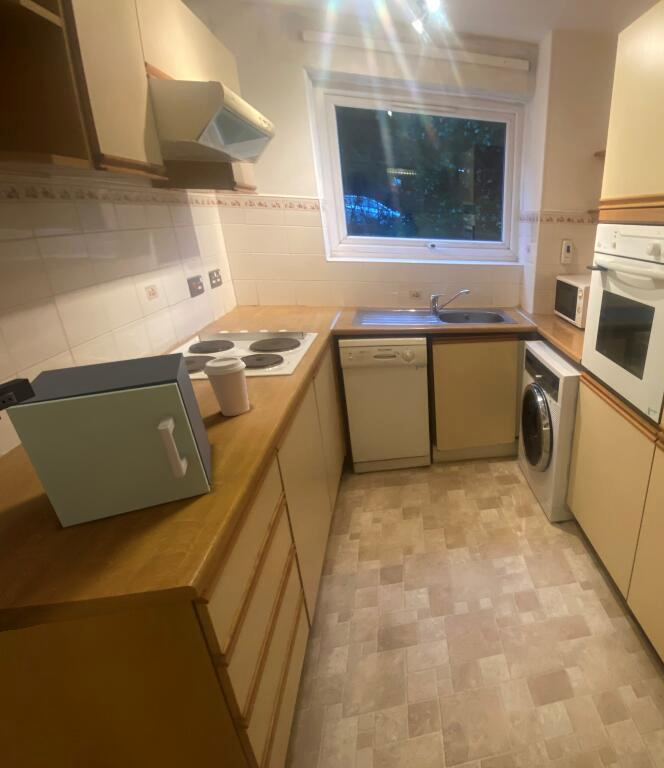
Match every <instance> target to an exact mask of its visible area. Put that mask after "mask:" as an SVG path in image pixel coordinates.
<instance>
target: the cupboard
mask: <svg viewBox="0 0 664 768" xmlns="http://www.w3.org/2000/svg"><path fill="white" fill-rule="evenodd" d="M187 366H188V365H187V363H186V360H185V357H184V353H183V352H175V353H168V354H160V355H159V354H158V355H153V356H144V357H137V358H131V359H130V358H129V359H123V360H115V361H107V362H101V363H93V364H85V365H79V366H78V365H77V366H70V367H65V368H55V369H49V370H48V369H47V370H42V371H41V372H40V373H39V374H38V375H36V377H34V379H32V381H31V382H30V384H31V386H32V389H33V391H34V393H35V395H36V396H35V397H32V398H30V399H28V400H25V401H23V402H21V403H18V404H16V405H14V406H18V405H25V404H32V403H39V402H46V401H52V400H59V399H66V398H73V397H80V396H87V395H94V394H101V393H108V392H115V391H122V390H129V389H136V388H143V387H150V386H157V385H164V384H171V383H177V386H178V389H179V392H180V395H181V398H182V402H183V405H184V408H185V411H186V414H187V418H188V421H189V424H190V427H191V430H192V434H193V437H194V440H195V443H196V446H197V449H198V453H199V456H200V459H201V462H202V465H203V469H204V472H205V475H206V478H207V481H208V485H209V486H210V485H211V444H210V440H209V437H208V433H207V431H206V430H207V429H206V427H205V424H204V420H203V417H202V416H203V415H202V413H201V410H200V406H199V403H198V400H197V397H196V393H195V390H194V387H193V384H192V380H191V376H190V374H189V370H188V367H187Z"/></svg>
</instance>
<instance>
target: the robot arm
mask: <svg viewBox="0 0 664 768" xmlns="http://www.w3.org/2000/svg"><path fill="white" fill-rule="evenodd" d="M30 383H31V382H30V380H29V378H28V377H27V378H26V377H25V378H22V377H18V378H17V377H16V378H14V379H12V380H11V379H10V380H9V381H6V382H4V383H3V382H2V383H0V412H1V411H4V410H5V409H6V408H9V407H11V406H14V405H16V404H18V403H21V402H23V401H25V400H28V399H30V398H32V397H35V396H36V395H35V393H34V391H33V389H32V386H31V384H30ZM0 420H2V417H1V416H0Z"/></svg>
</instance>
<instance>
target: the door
mask: <svg viewBox="0 0 664 768" xmlns="http://www.w3.org/2000/svg"><path fill="white" fill-rule="evenodd" d="M4 410H5V412H6V414H7V416H8V418H9V420H10V422H11V424H12V426H13V429H14V430H15V432H16V435H17V437H18V439H19V440H20V442H21V444H22V447H23V448H24V451H25V452H26V455H27V457H28V459H29V461H30V463H31V465H32V467H33V469H34V471H35V474H36V475H37V478H38V479H39V481H40V483H41V485H42V487H43V490H44V491H45V493H46V494H45V495H46V496H47V498H48V499H49V502H50V504H51V506H52V508H53V510H54V511H55V514H56V516H57V518H58V520H59V522H60V524H61V526H62V528H67V527H71V526H75V525H79V524H84V523H88V522H91V521H92V522H93V521H95V520H100V519H104V518H108V517H114V516H116V515H120V514H124V513H129V512H133V511H137V510H141V509H146V508H151V507H154V506H158V505H162V504H166V503H170V502H174V501H178V500H183V499H187V498H191V497H195V496H200V495H204V494H207V493H210V492H211V489H210V485H208V481H207V478H206V475H205V472H204V469H203V465H202V462H201V459H200V456H199V453H198V449H197V446H196V443H195V440H194V437H193V434H192V430H191V427H190V424H189V421H188V418H187V414H186V411H185V408H184V405H183V402H182V398H181V395H180V392H179V389H178V386H177V383H171V384H164V385H157V386H150V387H143V388H136V389H129V390H122V391H115V392H108V393H101V394H94V395H87V396H80V397H73V398H66V399H59V400H52V401H46V402H39V403H32V404H25V405H18V406H11V407H9V408H6V409H4Z"/></svg>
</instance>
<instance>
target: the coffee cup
mask: <svg viewBox="0 0 664 768" xmlns="http://www.w3.org/2000/svg"><path fill="white" fill-rule="evenodd" d="M246 366H247V365H246V363H245V362H244V361H243V360H242V359H241V358H240V357H238V356H223V357H218V358H214V359H211V360H209V361H206V363H205V366H204V368H203V373H204V375H206V376H207V379H208V381H209V383H210V386H211V388H212V391H213V393H214V396H215V399H216V401H217V403H218V405H219V408H220V411H221V414H222V415H223V416H225V417H235V416H239V415H242V414H245V413H247V412H248V411H250V409H251V407H250V400H249V394H248V387H247V386H248V385H247V380H246V373H245V368H246Z"/></svg>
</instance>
